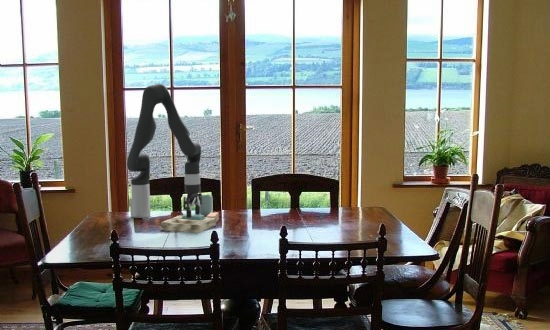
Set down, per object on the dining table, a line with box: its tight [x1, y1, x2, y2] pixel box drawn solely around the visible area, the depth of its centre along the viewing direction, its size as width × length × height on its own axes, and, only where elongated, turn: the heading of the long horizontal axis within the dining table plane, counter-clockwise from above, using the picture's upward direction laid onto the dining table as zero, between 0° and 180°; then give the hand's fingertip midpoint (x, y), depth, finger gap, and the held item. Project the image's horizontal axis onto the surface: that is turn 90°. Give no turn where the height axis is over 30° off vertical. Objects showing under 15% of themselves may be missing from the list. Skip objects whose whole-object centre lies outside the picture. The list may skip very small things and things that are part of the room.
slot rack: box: [160, 214, 217, 234], centre depth 261 cm, size 20×17×4 cm
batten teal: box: [181, 213, 205, 220], centre depth 265 cm, size 10×4×4 cm, turn 66°
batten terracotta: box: [205, 211, 220, 223], centre depth 273 cm, size 10×4×4 cm, turn 174°
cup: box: [199, 194, 214, 216], centre depth 291 cm, size 8×8×10 cm
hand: (193, 216), depth 265 cm, fingers open, 8 cm apart
